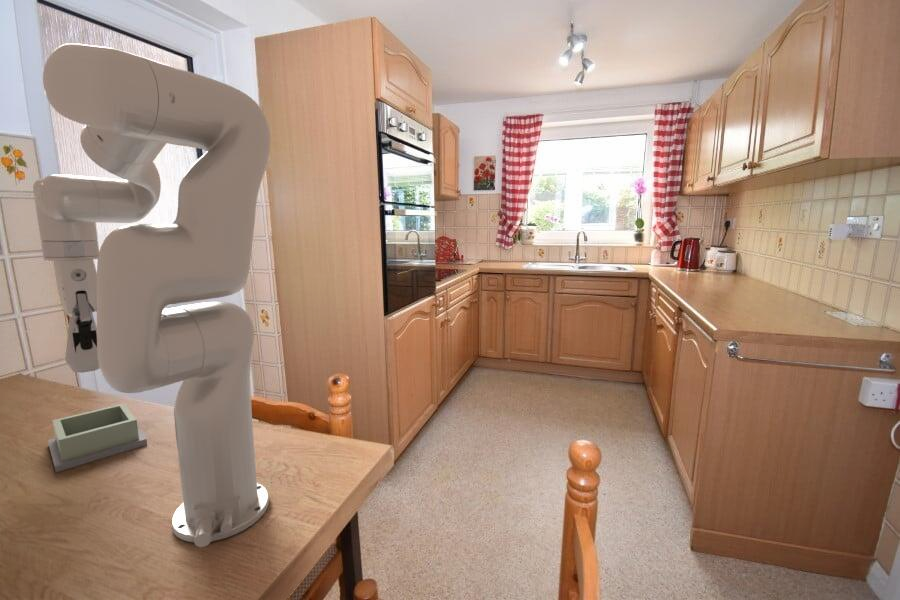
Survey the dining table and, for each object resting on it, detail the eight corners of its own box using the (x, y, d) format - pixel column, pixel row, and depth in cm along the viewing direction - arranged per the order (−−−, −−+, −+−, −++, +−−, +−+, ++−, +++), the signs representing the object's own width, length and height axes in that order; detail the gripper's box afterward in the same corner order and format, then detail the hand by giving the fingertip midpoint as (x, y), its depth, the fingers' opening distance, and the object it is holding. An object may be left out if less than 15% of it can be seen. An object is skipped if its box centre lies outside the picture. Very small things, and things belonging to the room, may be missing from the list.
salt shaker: (84, 375, 74) (74, 303, 72) (58, 372, 76) (48, 302, 73) (116, 365, 80) (107, 298, 78) (91, 363, 81) (82, 297, 79)
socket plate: (147, 444, 81) (144, 419, 80) (55, 472, 71) (51, 444, 71) (132, 423, 90) (129, 400, 89) (48, 445, 80) (44, 420, 79)
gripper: (107, 252, 71) (120, 355, 75) (91, 248, 82) (103, 338, 85) (46, 254, 66) (63, 365, 69) (38, 249, 77) (53, 346, 80)
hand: (85, 349), depth 77 cm, fingers closed on salt shaker, 3 cm apart
